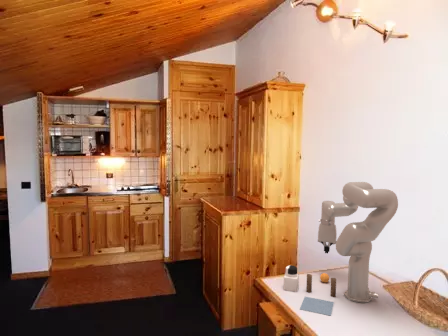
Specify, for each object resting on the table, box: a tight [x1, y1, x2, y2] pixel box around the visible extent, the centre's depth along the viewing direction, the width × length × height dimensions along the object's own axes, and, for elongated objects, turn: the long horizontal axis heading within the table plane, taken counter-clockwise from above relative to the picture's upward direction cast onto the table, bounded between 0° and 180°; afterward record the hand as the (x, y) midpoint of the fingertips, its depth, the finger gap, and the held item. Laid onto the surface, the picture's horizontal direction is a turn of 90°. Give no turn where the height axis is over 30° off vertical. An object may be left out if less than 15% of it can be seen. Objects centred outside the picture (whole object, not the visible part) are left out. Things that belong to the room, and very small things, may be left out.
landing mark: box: [299, 296, 335, 317], centre depth 154 cm, size 14×14×1 cm
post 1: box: [306, 273, 313, 294], centre depth 169 cm, size 3×3×9 cm
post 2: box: [329, 277, 337, 298], centre depth 164 cm, size 3×3×9 cm
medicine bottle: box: [283, 265, 300, 293], centre depth 173 cm, size 7×7×12 cm
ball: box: [319, 272, 330, 283], centre depth 181 cm, size 5×5×5 cm
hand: (326, 252), depth 190 cm, fingers closed
